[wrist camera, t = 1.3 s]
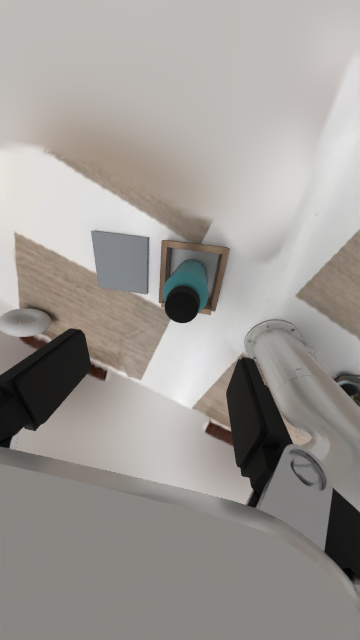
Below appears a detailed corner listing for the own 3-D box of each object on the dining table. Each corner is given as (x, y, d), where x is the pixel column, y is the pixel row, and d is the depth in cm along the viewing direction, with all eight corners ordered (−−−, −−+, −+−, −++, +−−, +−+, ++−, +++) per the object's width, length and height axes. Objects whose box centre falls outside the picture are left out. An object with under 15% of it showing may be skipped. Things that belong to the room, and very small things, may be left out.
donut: (27, 312, 46) (-15, 329, 38) (26, 302, 45) (-18, 317, 36) (60, 325, 47) (26, 345, 38) (60, 315, 45) (25, 334, 36)
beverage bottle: (179, 255, 34) (152, 273, 16) (210, 260, 33) (217, 284, 16) (175, 285, 37) (149, 328, 19) (204, 290, 36) (203, 338, 19)
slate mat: (148, 237, 33) (147, 237, 32) (147, 293, 38) (146, 294, 38) (94, 231, 34) (91, 230, 33) (101, 286, 39) (98, 287, 38)
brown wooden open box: (226, 247, 32) (231, 249, 26) (213, 302, 37) (215, 315, 31) (167, 240, 33) (158, 240, 26) (164, 295, 38) (156, 306, 32)
